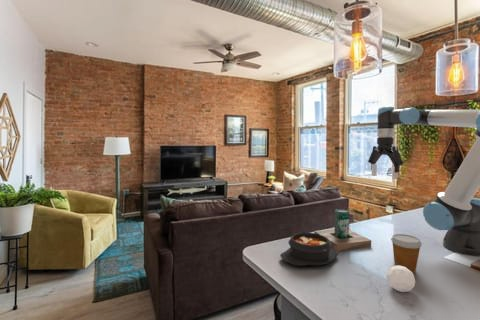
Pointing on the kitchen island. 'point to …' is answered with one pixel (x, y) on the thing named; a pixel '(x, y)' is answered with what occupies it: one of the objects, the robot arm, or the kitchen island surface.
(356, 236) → the frame
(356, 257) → the kitchen island surface
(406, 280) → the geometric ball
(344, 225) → the can
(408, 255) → the disposable coffee cup
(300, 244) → the casserole
